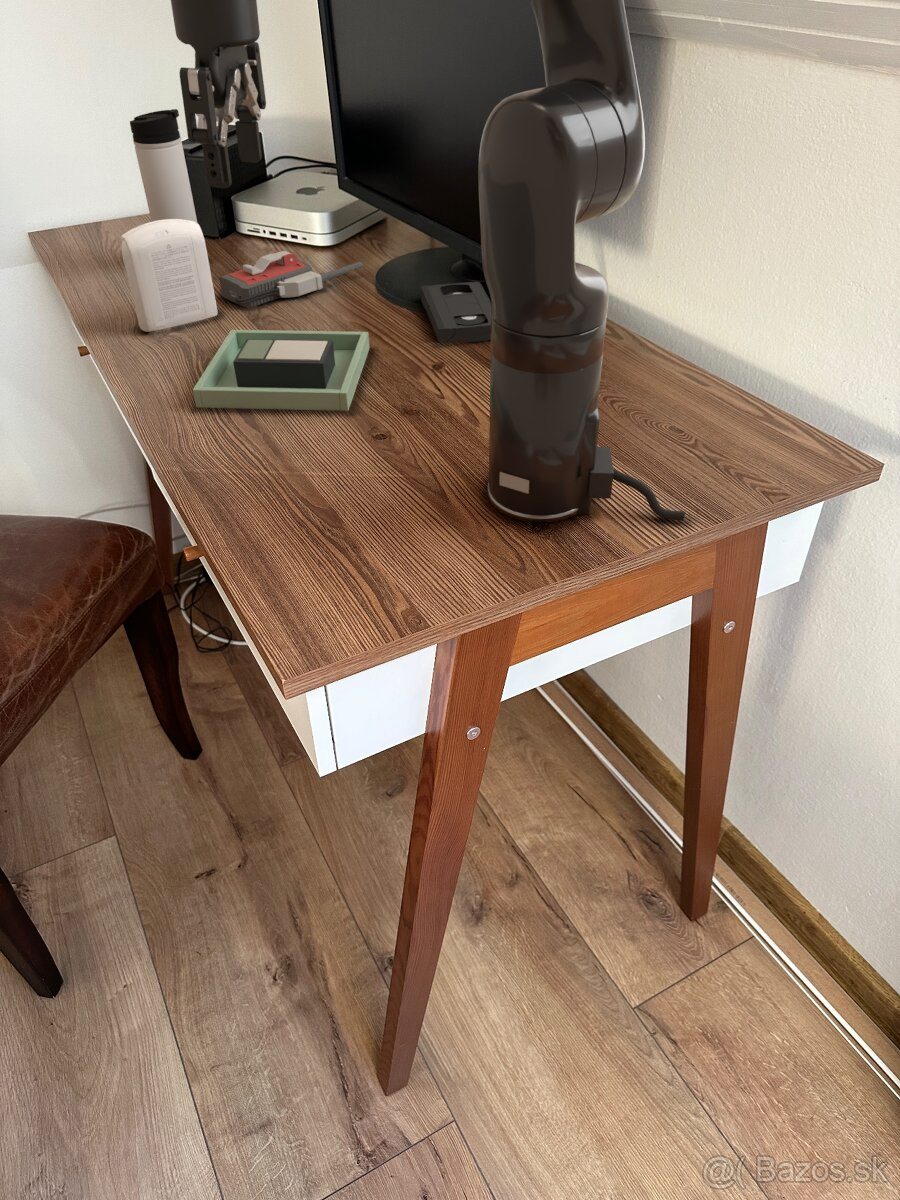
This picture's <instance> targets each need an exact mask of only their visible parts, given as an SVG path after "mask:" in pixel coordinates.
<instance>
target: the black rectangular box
mask: <svg viewBox="0 0 900 1200" xmlns="http://www.w3.org/2000/svg"><path fill="white" fill-rule="evenodd" d="M233 364H234V370H235V375H236V380H237V386H238V387H279V388H326V387H327V384H328V382H329V379H330V377H331V374H332V372H333V369H334V366H335V357H334V348H333V340H280V339H246V341H245V343H244V344H243V346H242V348H241V349H240V351H239V353H238V354H237V356H236V358H235V359H234V361H233Z"/></svg>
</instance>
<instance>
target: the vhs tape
mask: <svg viewBox="0 0 900 1200" xmlns="http://www.w3.org/2000/svg"><path fill="white" fill-rule="evenodd" d="M420 301H421V304H422V306H423V309H425V312H426V314H427V316H428V319H429V322H430V324H431V326H432V329H433V332H434V334H435V337H436V339H437V342H438V343H439V344H441V343H446V342H447V343H451V342H460V341H468V343H477V342H487V341H491V299H490V298H489V296H488V294H487V292H486V291H485V289H484V287H483V285H482V284H481V282H480V281H467V282H456V283H444V284H443V283H442V284H435V285H434V284H426V285H425V284H424V285H420Z"/></svg>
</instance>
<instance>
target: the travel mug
mask: <svg viewBox="0 0 900 1200" xmlns="http://www.w3.org/2000/svg"><path fill="white" fill-rule="evenodd" d="M179 116H180V113H179V109H177V108H173V109H172V108H171V109H164V110H157V111H151V112H147V113H143V114H140V115H137V116H135V117H133V120H129V126H130V131H131V133H132V142H133V145H134V150H135V154H136V155H135V156H136V159H137V164H138V168H139V173H140V177H141V183H142V186H143V191H144V195H145V199H146V203H147V208H148V212H149V216H150V222H153V221H157V220H164V219H183V220H190V221H194V222H195V223H197V224H199V223H198V219H197V214H196V213H197V212H196V209H195V204H194V199H193V198H194V197H193V193H192V192H193V191H192V187H191V182H190V178H189V172H188V167H187V163H186V158H185V152H184V147H183V142H182V136H181V133H180V131H179V129H180V128H179V124H178V119H177V118H179Z"/></svg>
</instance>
